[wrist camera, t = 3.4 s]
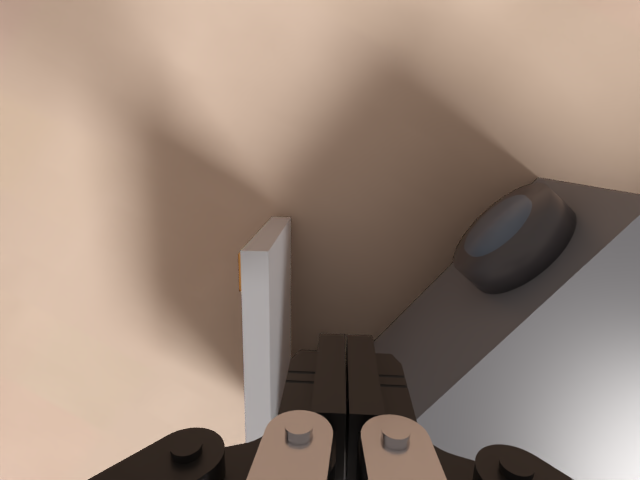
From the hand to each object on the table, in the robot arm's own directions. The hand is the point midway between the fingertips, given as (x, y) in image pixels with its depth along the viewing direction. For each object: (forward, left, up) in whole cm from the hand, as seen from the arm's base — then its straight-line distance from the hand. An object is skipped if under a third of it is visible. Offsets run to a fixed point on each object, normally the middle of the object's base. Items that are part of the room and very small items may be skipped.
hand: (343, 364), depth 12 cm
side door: (-5, 0, -10) cm, 11 cm away
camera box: (+1, -10, -11) cm, 15 cm away
